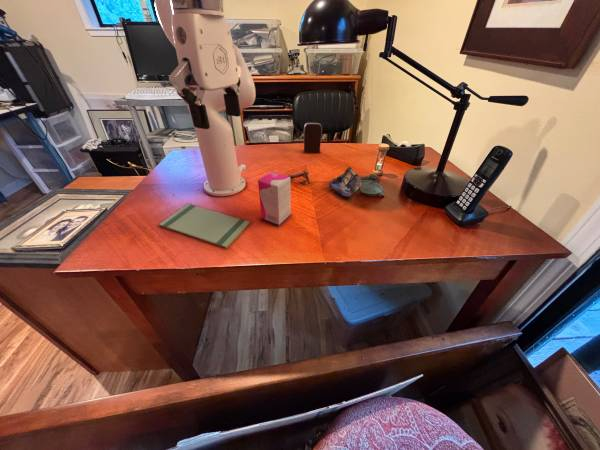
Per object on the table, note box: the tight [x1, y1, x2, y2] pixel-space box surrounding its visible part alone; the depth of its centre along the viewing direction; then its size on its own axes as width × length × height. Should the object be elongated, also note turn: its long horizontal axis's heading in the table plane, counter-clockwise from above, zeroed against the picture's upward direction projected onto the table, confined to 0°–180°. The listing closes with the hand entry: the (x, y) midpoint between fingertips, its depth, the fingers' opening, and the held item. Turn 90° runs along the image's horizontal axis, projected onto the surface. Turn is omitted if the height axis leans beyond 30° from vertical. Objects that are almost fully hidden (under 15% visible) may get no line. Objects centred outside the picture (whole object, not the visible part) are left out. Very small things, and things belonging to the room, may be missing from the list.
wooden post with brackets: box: [286, 170, 311, 185], centre depth 77 cm, size 2×8×4 cm, turn 66°
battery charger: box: [303, 121, 323, 154], centre depth 95 cm, size 7×4×11 cm, turn 91°
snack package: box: [328, 166, 363, 200], centre depth 74 cm, size 12×6×12 cm
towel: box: [158, 203, 251, 249], centre depth 60 cm, size 10×20×1 cm, turn 68°
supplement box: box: [257, 171, 292, 227], centre depth 60 cm, size 6×6×12 cm
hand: (219, 121), depth 47 cm, fingers open, 9 cm apart
